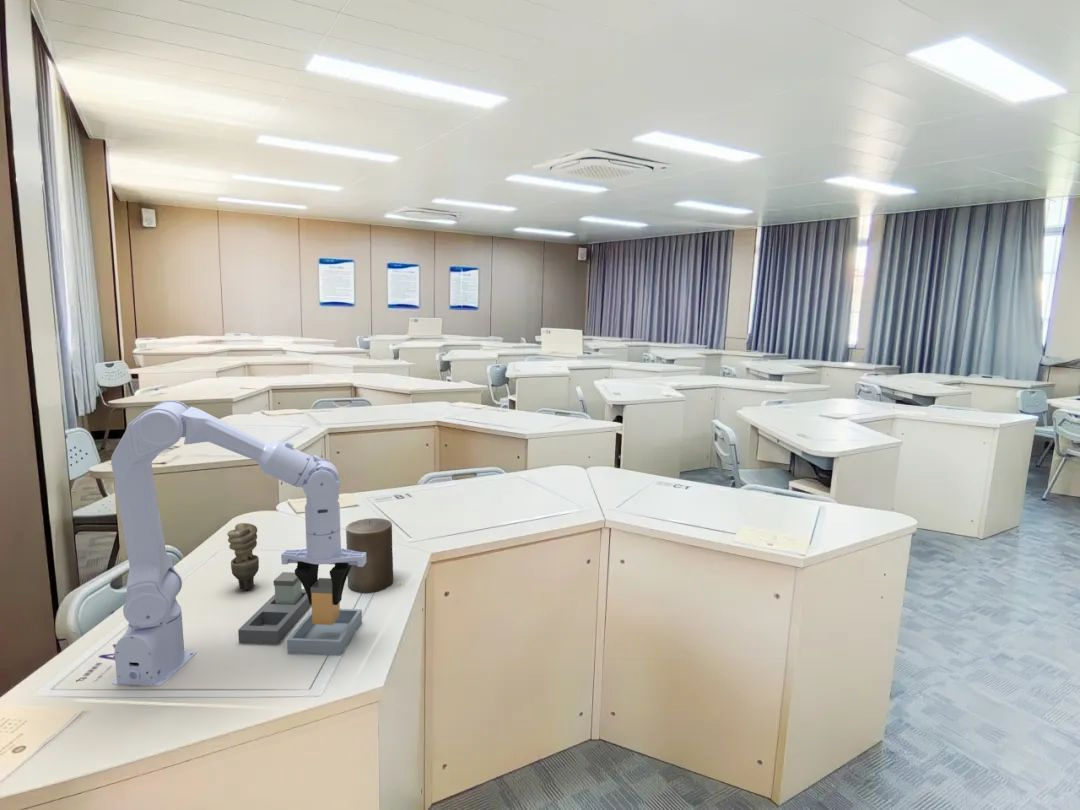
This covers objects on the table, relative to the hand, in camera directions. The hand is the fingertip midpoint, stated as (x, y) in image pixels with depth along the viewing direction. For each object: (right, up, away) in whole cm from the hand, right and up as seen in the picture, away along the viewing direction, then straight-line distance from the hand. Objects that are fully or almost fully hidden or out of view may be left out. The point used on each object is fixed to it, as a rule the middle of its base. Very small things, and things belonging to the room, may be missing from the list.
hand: (325, 601), depth 104 cm
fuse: (-11, -5, +10) cm, 16 cm away
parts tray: (0, -7, +1) cm, 7 cm away
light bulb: (-24, -4, +18) cm, 30 cm away
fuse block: (-11, -6, +6) cm, 14 cm away
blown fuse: (0, -3, +1) cm, 4 cm away
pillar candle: (+1, -4, +23) cm, 23 cm away
